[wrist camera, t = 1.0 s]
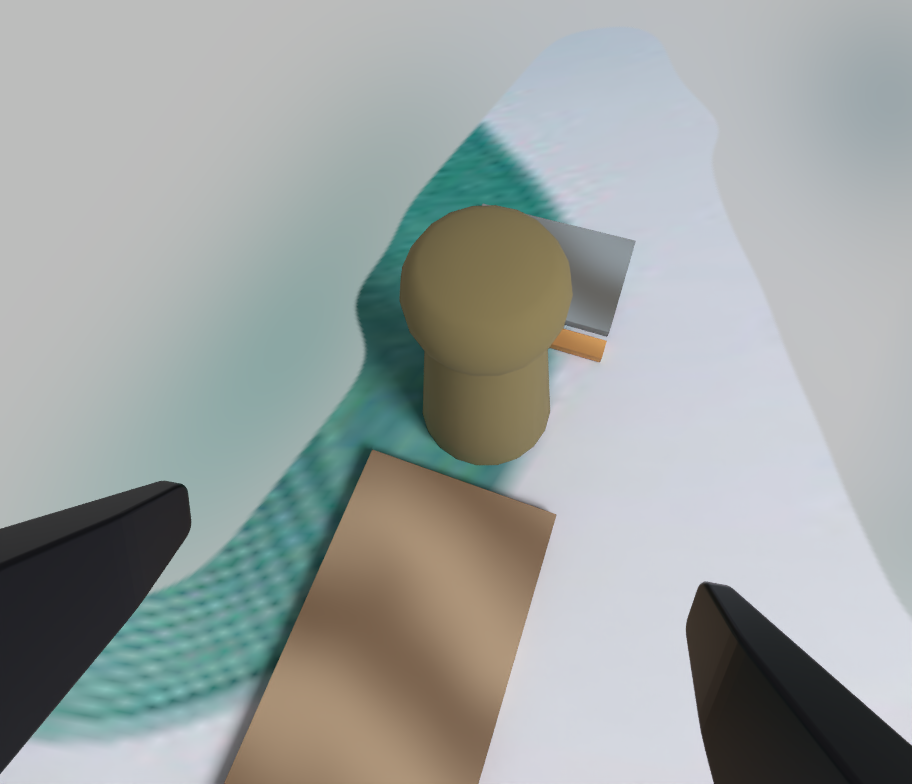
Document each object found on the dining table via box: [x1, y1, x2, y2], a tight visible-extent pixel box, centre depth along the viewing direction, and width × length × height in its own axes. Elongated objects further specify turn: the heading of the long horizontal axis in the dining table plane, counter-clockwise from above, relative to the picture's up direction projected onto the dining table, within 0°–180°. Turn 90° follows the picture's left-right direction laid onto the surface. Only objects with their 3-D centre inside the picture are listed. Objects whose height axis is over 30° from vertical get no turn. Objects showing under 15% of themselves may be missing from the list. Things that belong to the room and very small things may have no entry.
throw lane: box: [224, 204, 636, 784], centre depth 22 cm, size 31×8×1 cm, turn 160°
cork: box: [400, 205, 573, 465], centre depth 19 cm, size 6×6×11 cm
